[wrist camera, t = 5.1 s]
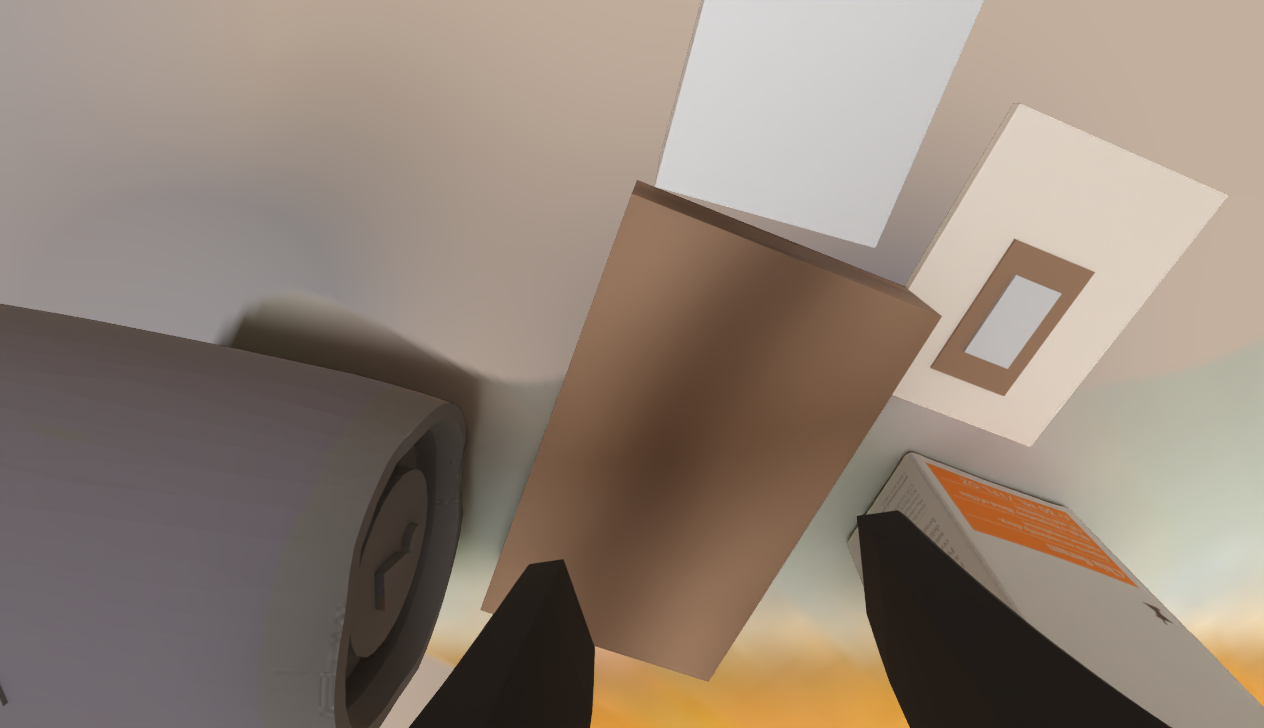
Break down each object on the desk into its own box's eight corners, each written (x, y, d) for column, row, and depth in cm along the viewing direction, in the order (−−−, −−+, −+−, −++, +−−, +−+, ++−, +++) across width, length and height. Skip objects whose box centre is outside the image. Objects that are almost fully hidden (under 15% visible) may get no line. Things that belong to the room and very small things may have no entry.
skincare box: (1071, 503, 19) (1610, 1042, 8) (994, 594, 21) (1353, 1139, 10) (903, 442, 19) (1240, 935, 8) (838, 541, 20) (1036, 1057, 9)
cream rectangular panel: (1218, 193, 15) (1235, 196, 15) (1024, 441, 18) (1033, 450, 18) (1013, 103, 14) (1024, 103, 14) (850, 375, 18) (855, 383, 17)
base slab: (904, 286, 16) (942, 316, 14) (704, 621, 22) (708, 681, 20) (637, 180, 16) (632, 193, 13) (500, 555, 21) (480, 609, 19)
